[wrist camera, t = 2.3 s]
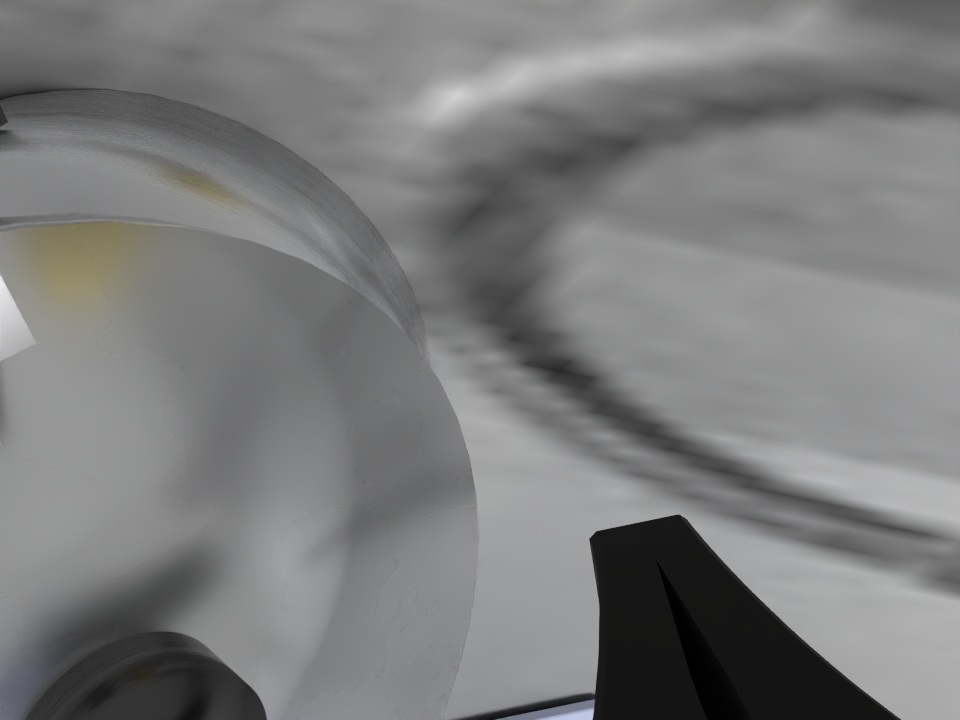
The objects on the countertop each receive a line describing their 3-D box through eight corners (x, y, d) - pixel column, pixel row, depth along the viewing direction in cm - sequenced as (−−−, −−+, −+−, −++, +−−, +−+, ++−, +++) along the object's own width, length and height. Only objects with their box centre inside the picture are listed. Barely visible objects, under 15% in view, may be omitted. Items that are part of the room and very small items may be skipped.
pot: (475, 533, 24) (494, 676, 19) (4, 630, 24) (-81, 794, 20) (213, -521, 13) (122, -733, 8) (-662, -327, 13) (-1196, -437, 8)
